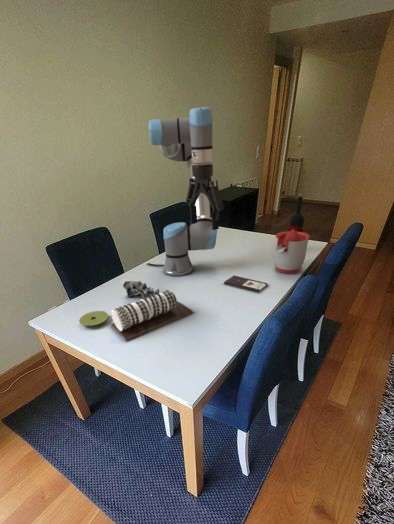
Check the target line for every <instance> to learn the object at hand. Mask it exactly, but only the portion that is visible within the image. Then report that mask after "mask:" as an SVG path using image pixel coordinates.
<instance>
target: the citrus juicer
mask: <svg viewBox="0 0 394 524" xmlns="http://www.w3.org/2000/svg"><path fill="white" fill-rule="evenodd" d="M309 239H310V234H309V233H307V232H303V231H302V232H297V231H295V230H294V229H292V230H291V231H288V230H287V231H281V232H278V233H276V234H275V243H274V250H273V251H274V253H273V259H274V267H275V270H276V271H277V272H278V273H281V274H287V275H292V274H296V273H298V272H300V270H301V269H302V267H303V265H304V262H305V260H306V255H307V250H308V244H309Z"/></svg>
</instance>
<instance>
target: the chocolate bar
mask: <svg viewBox="0 0 394 524" xmlns="http://www.w3.org/2000/svg"><path fill="white" fill-rule="evenodd" d="M223 284H224V285H227V286H231V287H233V288H234V287H235V288H238V289H241V290H242V289H243V290H246V291H250V292H255V293H260V292H261V291H262V290H263V289H264V288H266V287H267V286H268V283H267V282H264V281H260V280H255V279H251V278H248V277H242V276H238V275H232V276H231V277H230V278H228V279H226V280H225V281H224V282H223Z"/></svg>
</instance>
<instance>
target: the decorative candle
mask: <svg viewBox="0 0 394 524" xmlns="http://www.w3.org/2000/svg"><path fill="white" fill-rule="evenodd" d="M154 292H155V295H153V294H151V295H150V296H147V299H146V298H140V299H139V300H138V301H136V302H131V303H127V304H124V305H123V306H119V307H116V308H114V309H111V311H110V314H111V315H110V316H111V319H112V321H113V323H115V325H116V327H117V328H118V329H119V331H123V330H126V329H127V328H130V327H131V326H134V325H138V324H139V323H141V322H142V321H144V320H146V319H147V320H149V319H153V318H155V317H158V316H162V315H164V314H166V312H167V311H169V310H171V309H175V307H176V304H177V301H178V300H177V296H176V295H175V293H174V292H172V291H171V290H169V289H166V290H164V291H162V292H159V293H158V292H156V291H154ZM156 294H157V295H156ZM163 312H164V313H163ZM155 315H156V316H155Z"/></svg>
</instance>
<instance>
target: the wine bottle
mask: <svg viewBox="0 0 394 524" xmlns="http://www.w3.org/2000/svg"><path fill="white" fill-rule="evenodd" d="M303 195H304V193H299V194H298V196H297V201H296V202H297V203H296V209H295V213H293V214H292V215H291V216H290V218H289V223H288V230H287V231H291V230H292V229H294V230H295V231H297V232H303V229H304V224H305V223H304V222H305V216H304V215H303V214H302V213H301V210H302V203H303Z"/></svg>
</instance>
